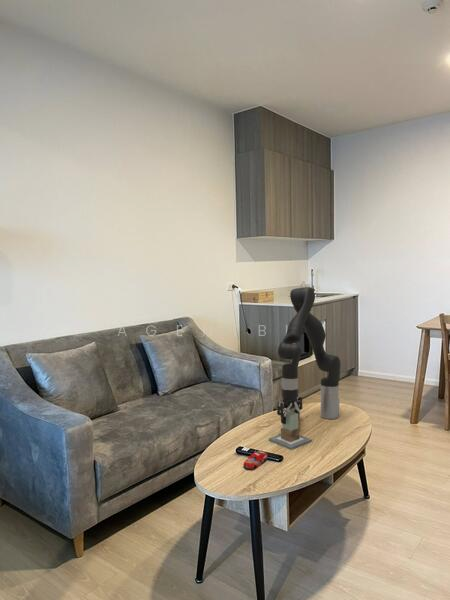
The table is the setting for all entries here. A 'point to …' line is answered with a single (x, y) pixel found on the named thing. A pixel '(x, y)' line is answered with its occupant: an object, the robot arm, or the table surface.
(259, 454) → the race car
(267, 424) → the table surface
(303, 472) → the table surface
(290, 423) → the sage block
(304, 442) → the board
